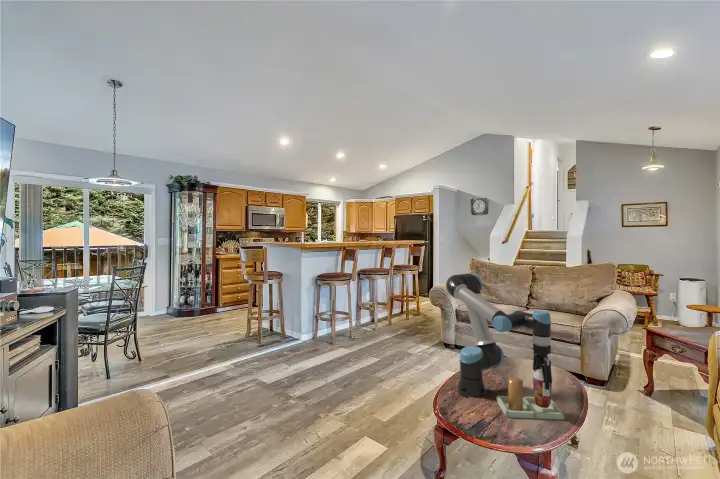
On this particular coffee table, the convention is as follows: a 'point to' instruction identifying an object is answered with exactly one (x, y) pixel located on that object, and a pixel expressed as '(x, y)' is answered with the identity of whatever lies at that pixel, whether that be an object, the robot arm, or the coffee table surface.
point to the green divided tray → (531, 409)
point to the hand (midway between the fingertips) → (542, 390)
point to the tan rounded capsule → (515, 394)
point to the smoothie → (540, 390)
